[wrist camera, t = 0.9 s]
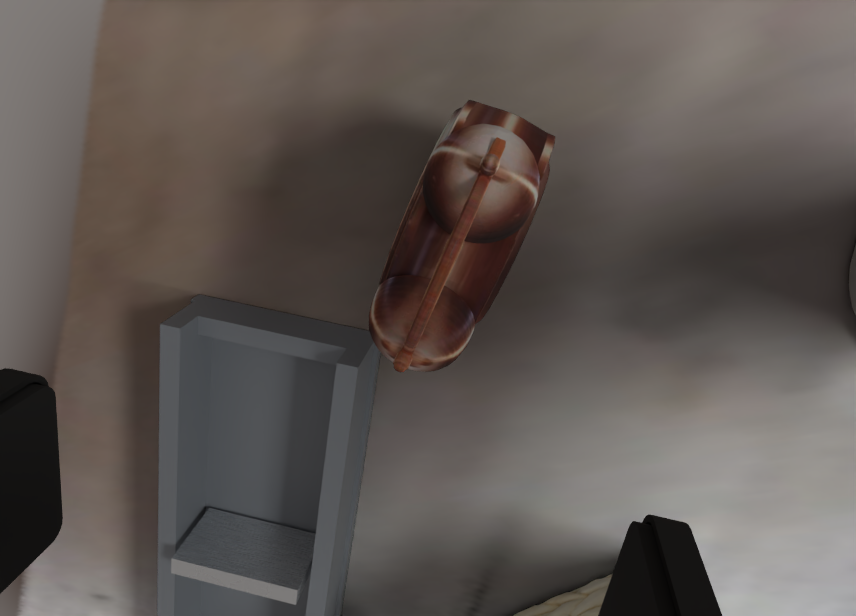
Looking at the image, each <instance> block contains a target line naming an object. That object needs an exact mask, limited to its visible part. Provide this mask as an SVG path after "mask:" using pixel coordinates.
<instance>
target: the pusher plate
mask: <svg viewBox="0 0 856 616" xmlns="http://www.w3.org/2000/svg"><path fill="white" fill-rule="evenodd" d="M315 535H316V534H315V533H311V532H307V531H303V530H299V529H295V528H291V527H286V526H282V525H278V524H274V523H270V522H266V521H262V520H258V519H254V518H250V517H246V516H241V515H237V514H233V513H229V512H225V511H221V510H217V509H213V508H209V509H208V510H207V512H206V513H205V514H204V516H203V517H202V518H201V520H200V521H199V522H198V524H197V525H196V526H195V528H194V529H193V530H192V532H191V533H190V534H189V536H188V537H187V538H186V540H185V541H184V542H183V544H182V545H181V546H180V548H179V549H178V550H177V552H176V553H175V554H174V556H173V557H172V558H171V573H173V574H177V575H180V576H184V577H188V578H192V579H196V580H200V581H204V582H208V583H212V584H216V585H220V586H224V587H227V588H231V589H235V590H239V591H243V592H247V593H251V594H255V595H259V596H263V597H267V598H271V599H274V600H278V601H282V602H286V603H290V604H294V605H296V604H297V602H298V599H299V597H300V595H301V593H302V590H303V588H304V586H305V584H306V581H307V579H308V577H309V575H310V572H311V568H312V560H313V552H314V543H315Z"/></svg>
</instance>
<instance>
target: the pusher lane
mask: <svg viewBox="0 0 856 616" xmlns="http://www.w3.org/2000/svg"><path fill="white" fill-rule="evenodd" d="M380 355H381V352H380V351H379V350H378V348H377V347H376V345H375V343H374V342H373V340H372V337H371V334H370V331H367V330H362V329H358V328H353V327H349V326H344V325H339V324H335V323H330V322H325V321H321V320H316V319H311V318H307V317H302V316H297V315H293V314H288V313H283V312H279V311H274V310H269V309H265V308H260V307H256V306H251V305H246V304H242V303H237V302H232V301H228V300H223V299H218V298H214V297H209V296H204V295H200V294H199V295H197V296H195V297H194V298H192V299H191V304H189V305H188V306H186V307H185V308H183V309H182V310H180V311H179V312H177V313H176V314H174V315H173V316H171V317H170V318H168V319H167V320H165V321H164V322H162V323H161V324H160V379H159V480H158V581H157V616H341V613H342V606H343V600H344V593H345V586H346V580H347V573H348V567H349V560H350V553H351V547H352V540H353V533H354V527H355V520H356V514H357V507H358V500H359V494H360V487H361V480H362V474H363V467H364V461H365V454H366V447H367V441H368V434H369V428H370V421H371V414H372V408H373V401H374V394H375V388H376V381H377V375H378V368H379V361H380ZM209 508H213V509H217V510H221V511H225V512H229V513H233V514H237V515H241V516H246V517H250V518H254V519H258V520H262V521H266V522H270V523H274V524H278V525H282V526H286V527H291V528H295V529H299V530H303V531H307V532H311V533H315V534H316V535H315V543H314V552H313V560H312V568H311V572H310V575H309V577H308V579H307V581H306V584H305V586H304V588H303V590H302V593H301V595H300V597H299V599H298V602H297V604H296V605H294V604H290V603H286V602H282V601H278V600H274V599H271V598H267V597H263V596H259V595H255V594H251V593H247V592H243V591H239V590H235V589H231V588H227V587H224V586H220V585H216V584H212V583H208V582H204V581H200V580H196V579H192V578H188V577H184V576H180V575H177V574H173V573H171V558H172V557H173V556H174V554H175V553H176V552H177V550H178V549H179V548H180V546H181V545H182V544H183V542H184V541H185V540H186V538H187V537H188V536H189V534H190V533H191V532H192V530H193V529H194V528H195V526H196V525H197V524H198V522H199V521H200V520H201V518H202V517H203V516H204V514H205V513H206V512H207V510H208V509H209Z"/></svg>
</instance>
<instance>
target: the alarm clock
mask: <svg viewBox="0 0 856 616" xmlns="http://www.w3.org/2000/svg"><path fill="white" fill-rule="evenodd" d="M554 143H555V136H553V135H551V134H548V133H546V132H544V131H543V130H541V129H540V128H538V127H536V126H535V125H533V124H531V123H530V122H528V121H526V120H525V119H523V118H521V117H519V116H517V115H514V114H512V113H509V112H507V111H503V110H500V109H497V108H494V107H491V106H488V105H485V104H481V103H478V102H475V101H471V100H469V101H468V102H467V103H466V104H465V105H464V107H463V108H459V109H457V110H456V111H455V112H454V113H453V115H452V116H451V118H450V119H449V121H448V123H447V124H446V126H445V128H444V130H443V132H442V134H441V136H440V137H439V139H438V141H437V143H436V145H435V147H434V149H433V151H432V153H431V155H430V157H429V160H428V162H427V164H426V166H425V168H424V170H423V173H422V175H421V177H420V179H419V181H418V184H417V186H416V188H415V190H414V193H413V195H412V197H411V199H410V202H409V204H408V207H407V209H406V211H405V214H404V216H403V219H402V221H401V224H400V226H399V228H398V231H397V234H396V236H395V239H394V241H393V244H392V247H391V249H390V252H389V255H388V258H387V261H386V264H385V267H384V269H383V273H382V276H381V280H380V283H379V288H378V289H377V291H376V293H375V296H374V298H373V301H372V305H371V309H370V313H369V331H370V334H371V337H372V340H373V342H374V343H375V345H376V347H377V348H378V350H379V351H380V352H381V353H382V354H383V355H384V356H385V357H386V358H388V359H389V360H390V361H392V362H393V364H394V368H395V370H396V371H398V372H404V371H405V370H407V369H410V370H414V371H423V372H427V371H435V370H439V369H441V368H443V367H446V366H448V365H449V364H451V363H452V362H453V361H455V360H456V358H457V357H458V356H459V355H460V354H461V352H462V351H463V350H464V349H465V347H466V346H467V344H468V342H469V340H470V338H471V336H472V334H473V332H474V327H475V324H476V323H477V322H479V321H480V320H481V319H482V318H483V317H484V316H485V314H486V313H487V311H488V309H489V308H490V306H491V305H492V303H493V301H494V299H495V297H496V296H497V294H498V292H499V290H500V288H501V286H502V284H503V282H504V280H505V278H506V276H507V274H508V272H509V270H510V268H511V266H512V264H513V262H514V260H515V258H516V256H517V254H518V251H519V249H520V247H521V245H522V243H523V240H524V238H525V236H526V234H527V231H528V229H529V227H530V225H531V222H532V220H533V217H534V215H535V213H536V210H537V208H538V205H539V203H540V200H541V198H542V195H543V192H544V189H545V186H546V183H547V180H548V176H549V172H550V167H549V159H550V156H551V153H552V150H553V146H554Z"/></svg>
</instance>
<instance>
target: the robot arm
mask: <svg viewBox="0 0 856 616" xmlns="http://www.w3.org/2000/svg"><path fill="white" fill-rule="evenodd" d="M849 293H850V298H851V303H852V309H853V311H854V313H855V316H856V245H855V249H854V253H853V256H852V260H851V264H850V272H849ZM62 519H63V517H62V500H61V482H60V465H59V448H58V430H57V413H56V397H55V392H54V390H53V389H52V388H50V387H49V386H48V382H47V381H46V379H45V378H44V377H42V376H40V375H36V374H31V373H26V372H22V371H17V370H13V369H2V370H0V593H1V592H3V590H4V589H6V588H7V587H8V586H9V585H10V584H11V583H12V582H13V581H14V580H15V579H16V578H17V577H18V576H19V575H20V574H21V573H22V572H23V571H24V570H25V569H26V568H27V567H28V566H29V565H30V564H31V563H32V562H33V561H34V560H35V559H36V558H37V557H38V556H39V555H40V554H41V553H42V552H43V551H44V550H45V549H46V548H47V547H48V546H49V545H50V544H51V543H52V542H53V541H54V540H55V538H56V537H57V535H58V533H59V531H60V529H61V525H62ZM598 616H722V614H721V611H720V608H719V606H718V603H717V600H716V597H715V595H714V592H713V589H712V586H711V583H710V581H709V578H708V575H707V572H706V570H705V567H704V564H703V561H702V559H701V556H700V553H699V550H698V548H697V545H696V542H695V539H694V536H693V534H692V531H691V529H690V527H689V525H688V524H686V523H684V522H680V521H676V520H671V519H667V518H662V517H658V516H654V515H647V516H646V517H645V518H644V520H643V522H642V523H640V522H636V521H633V522H632V523H631V524H630V526H629V529H628V531H627V534H626V537H625V540H624V543H623V546H622V549H621V551H620V554H619V557H618V560H617V563H616V566H615V569H614V571H613V574H612V577H611V580H610V583H609V586H608V589H607V592H606V594H605V597H604V600H603V603H602V606H601V609H600V612H599V615H598Z"/></svg>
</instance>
